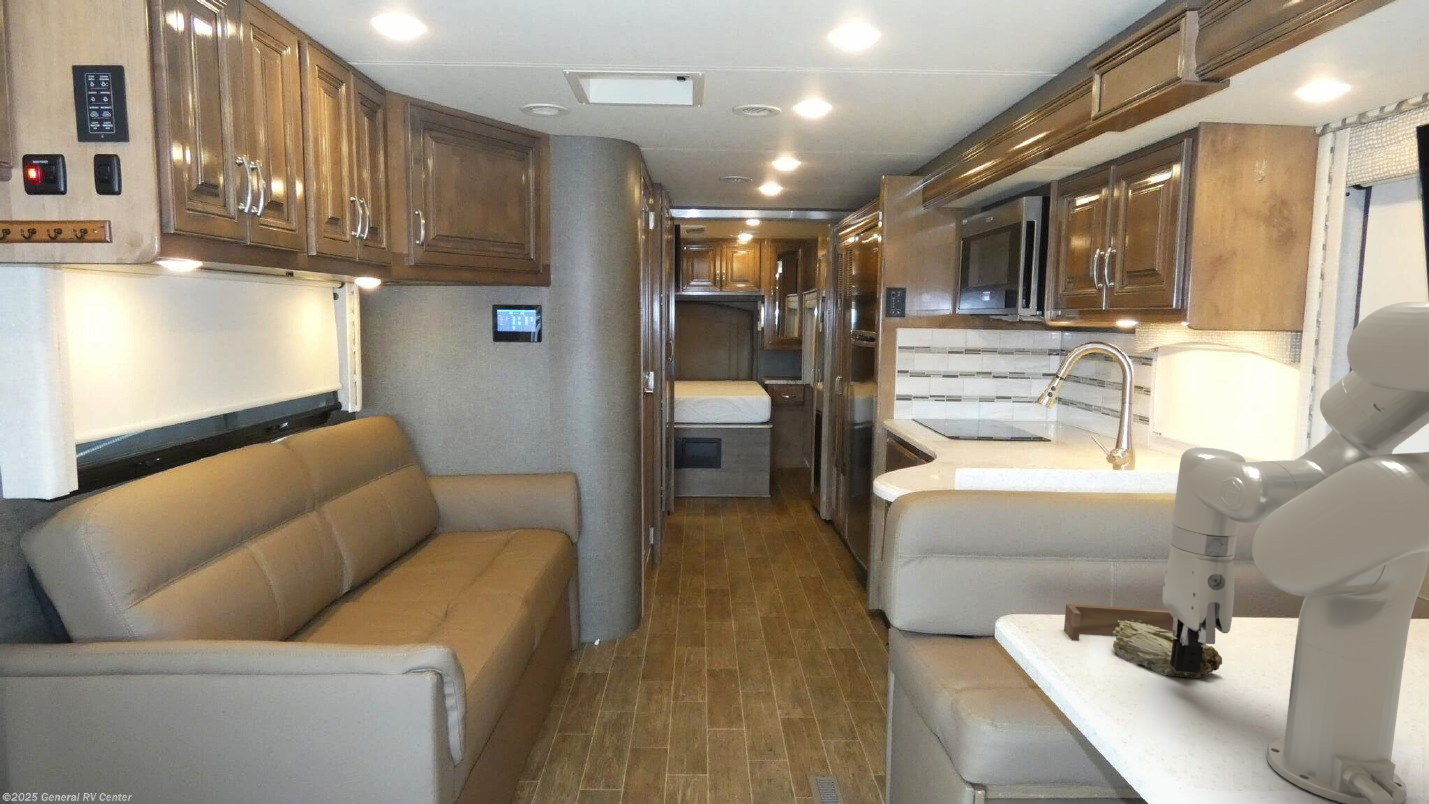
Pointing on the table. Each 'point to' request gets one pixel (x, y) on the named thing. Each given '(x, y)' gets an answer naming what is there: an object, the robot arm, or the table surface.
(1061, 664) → the table surface
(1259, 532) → the robot arm
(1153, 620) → the stand
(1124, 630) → the beige fibrous lump
